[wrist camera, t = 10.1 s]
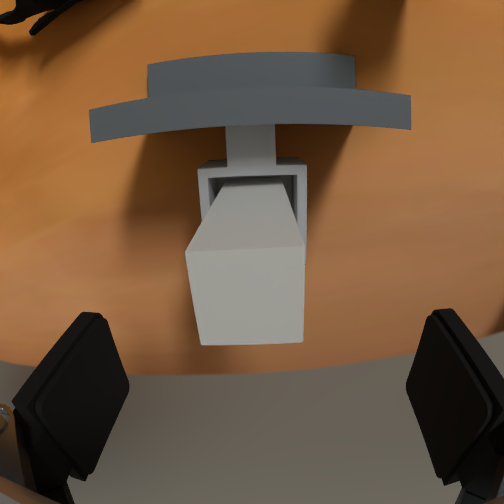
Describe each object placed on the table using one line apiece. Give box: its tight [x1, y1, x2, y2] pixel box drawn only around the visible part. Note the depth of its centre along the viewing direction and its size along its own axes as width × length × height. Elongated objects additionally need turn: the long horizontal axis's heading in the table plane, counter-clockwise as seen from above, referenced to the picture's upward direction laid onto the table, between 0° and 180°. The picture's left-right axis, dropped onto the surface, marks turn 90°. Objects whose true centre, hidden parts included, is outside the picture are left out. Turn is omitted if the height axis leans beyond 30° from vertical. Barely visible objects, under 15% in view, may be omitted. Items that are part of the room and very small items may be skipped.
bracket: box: [89, 52, 411, 265], centre depth 22 cm, size 18×16×12 cm
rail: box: [185, 176, 305, 345], centre depth 18 cm, size 4×4×14 cm
